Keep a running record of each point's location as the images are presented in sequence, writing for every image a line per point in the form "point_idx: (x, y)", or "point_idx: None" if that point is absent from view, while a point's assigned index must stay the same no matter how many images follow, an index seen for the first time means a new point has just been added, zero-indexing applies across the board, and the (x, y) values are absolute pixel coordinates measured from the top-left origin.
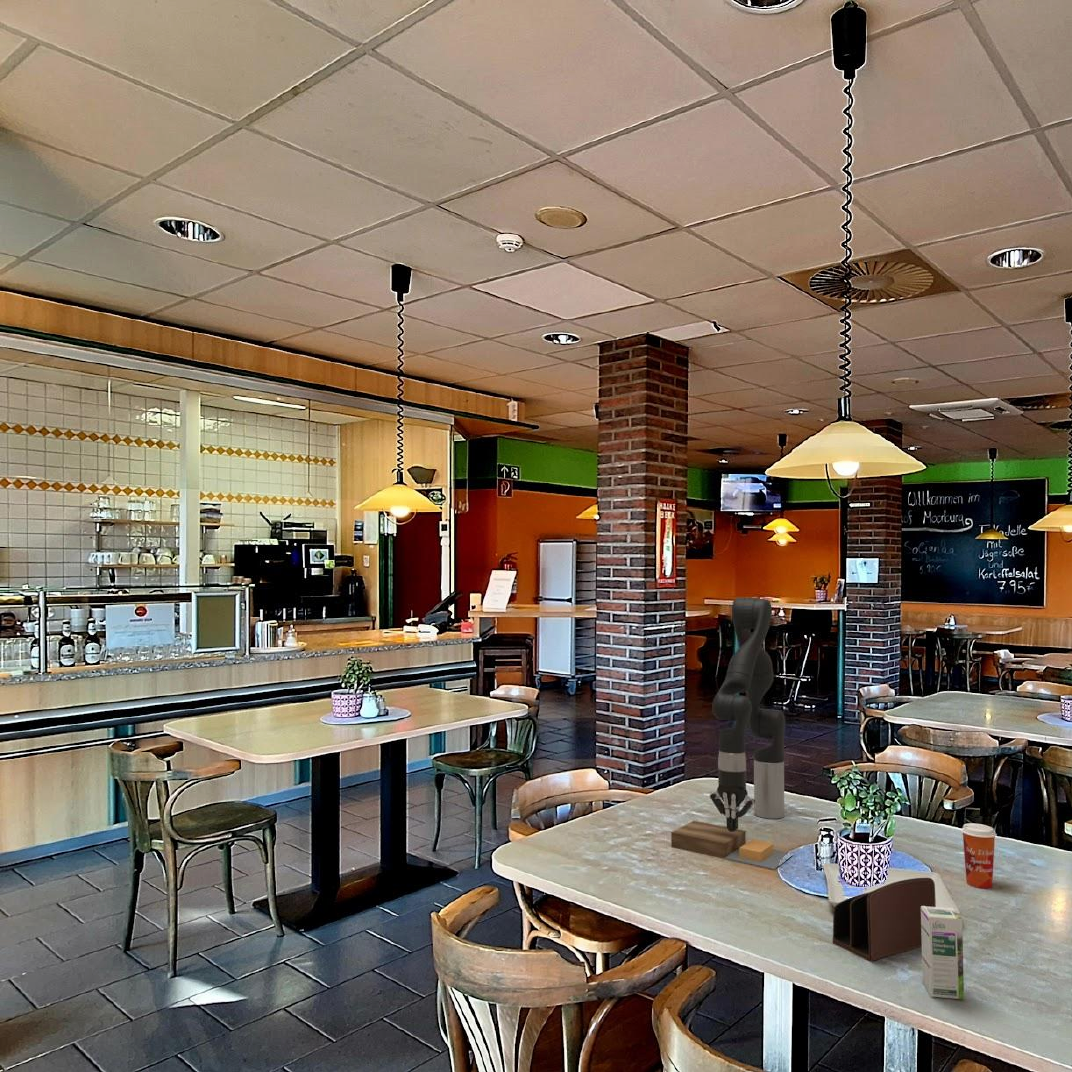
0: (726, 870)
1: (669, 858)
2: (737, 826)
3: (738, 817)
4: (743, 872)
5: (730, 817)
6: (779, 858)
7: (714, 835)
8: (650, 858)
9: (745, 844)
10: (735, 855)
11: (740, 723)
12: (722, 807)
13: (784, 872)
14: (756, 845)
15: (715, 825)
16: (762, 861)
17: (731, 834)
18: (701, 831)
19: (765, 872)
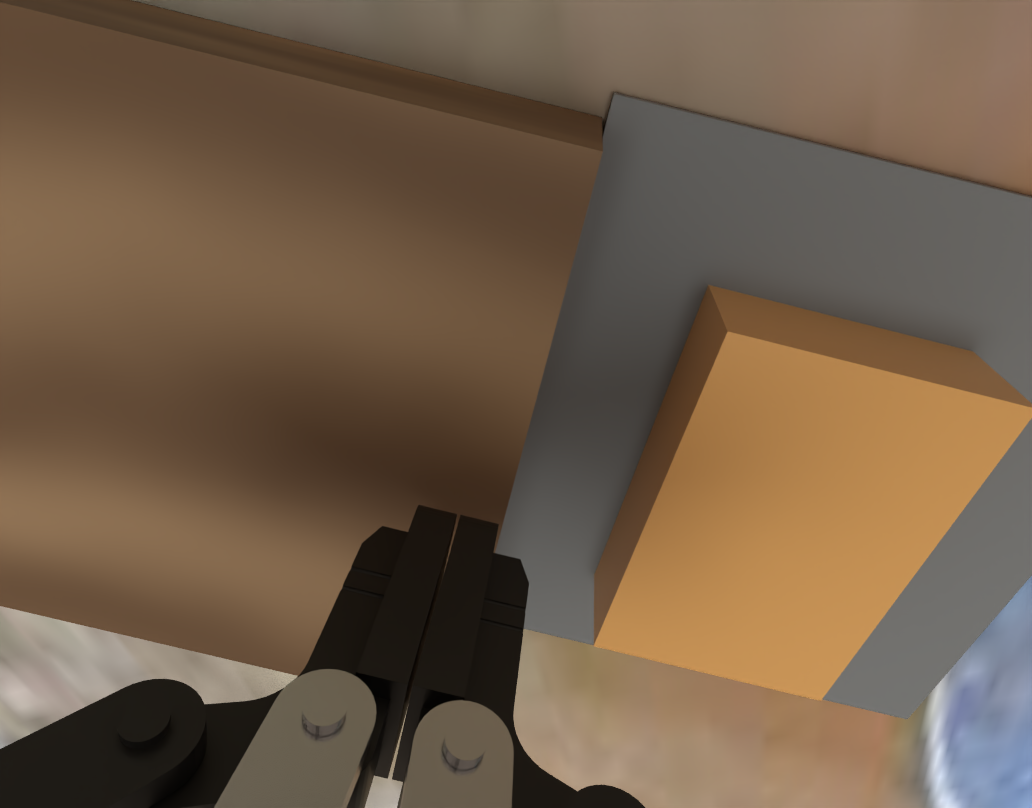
0: (543, 768)
1: (125, 683)
2: (518, 610)
3: (516, 743)
4: (660, 773)
5: (374, 767)
6: (1011, 495)
7: (256, 528)
8: (33, 709)
9: (647, 546)
10: (553, 548)
11: None
12: (48, 796)
13: (983, 721)
14: (781, 536)
15: (19, 39)
16: None
17: (430, 424)
18: (49, 437)
19: (822, 747)
